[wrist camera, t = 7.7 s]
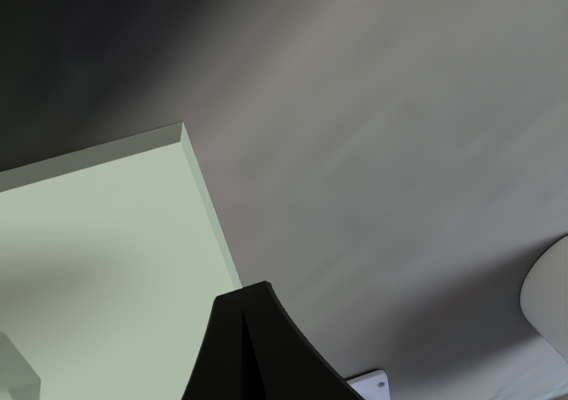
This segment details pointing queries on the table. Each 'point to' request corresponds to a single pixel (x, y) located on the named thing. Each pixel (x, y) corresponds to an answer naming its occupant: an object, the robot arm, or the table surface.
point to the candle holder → (549, 296)
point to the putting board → (108, 271)
